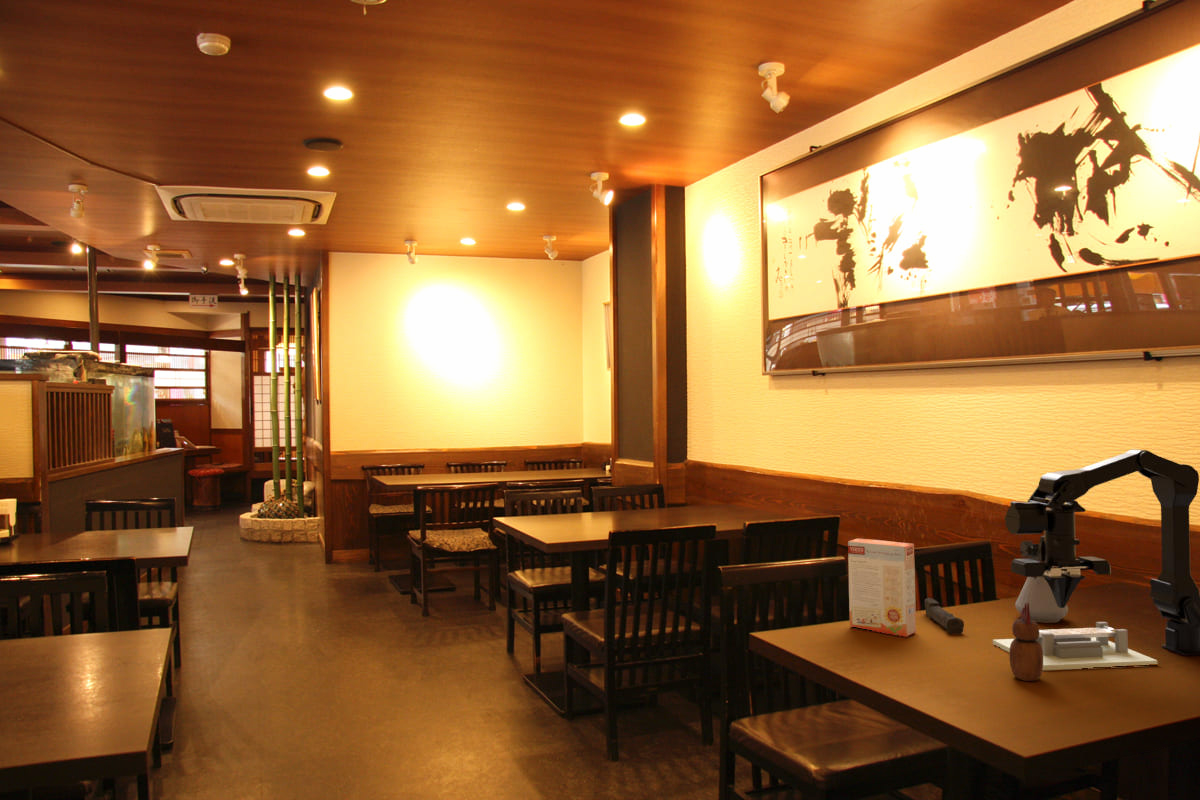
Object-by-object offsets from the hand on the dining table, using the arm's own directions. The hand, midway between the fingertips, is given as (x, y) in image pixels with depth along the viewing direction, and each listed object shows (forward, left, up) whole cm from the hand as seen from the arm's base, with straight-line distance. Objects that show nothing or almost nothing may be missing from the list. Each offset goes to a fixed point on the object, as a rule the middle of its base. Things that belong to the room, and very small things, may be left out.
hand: (1061, 607), depth 172 cm
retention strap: (-3, 0, -6) cm, 7 cm away
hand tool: (+13, -27, -10) cm, 32 cm away
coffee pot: (-10, -24, -10) cm, 28 cm away
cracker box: (+29, -23, -10) cm, 38 cm away
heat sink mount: (-2, 0, -10) cm, 10 cm away
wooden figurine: (+16, +13, -10) cm, 23 cm away
